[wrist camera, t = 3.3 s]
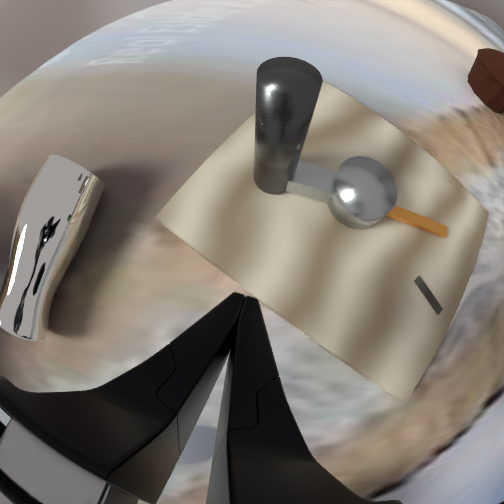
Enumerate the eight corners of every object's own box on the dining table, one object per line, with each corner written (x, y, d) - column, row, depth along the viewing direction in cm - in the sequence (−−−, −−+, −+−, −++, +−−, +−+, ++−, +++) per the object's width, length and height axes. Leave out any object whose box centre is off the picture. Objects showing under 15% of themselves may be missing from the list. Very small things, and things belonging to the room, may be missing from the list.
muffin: (478, 108, 28) (509, 73, 18) (451, 63, 31) (474, 28, 21) (514, 125, 28) (543, 98, 19) (490, 82, 31) (513, 54, 21)
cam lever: (443, 209, 22) (520, 157, 11) (441, 258, 21) (531, 222, 10) (262, 147, 23) (269, 44, 12) (245, 198, 22) (243, 100, 11)
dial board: (480, 217, 24) (489, 212, 22) (397, 398, 20) (406, 403, 18) (301, 79, 27) (303, 69, 25) (160, 222, 23) (154, 215, 21)
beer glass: (64, 344, 20) (120, 194, 23) (8, 343, 14) (75, 157, 17) (27, 311, 22) (76, 181, 25) (-22, 303, 15) (35, 149, 18)
